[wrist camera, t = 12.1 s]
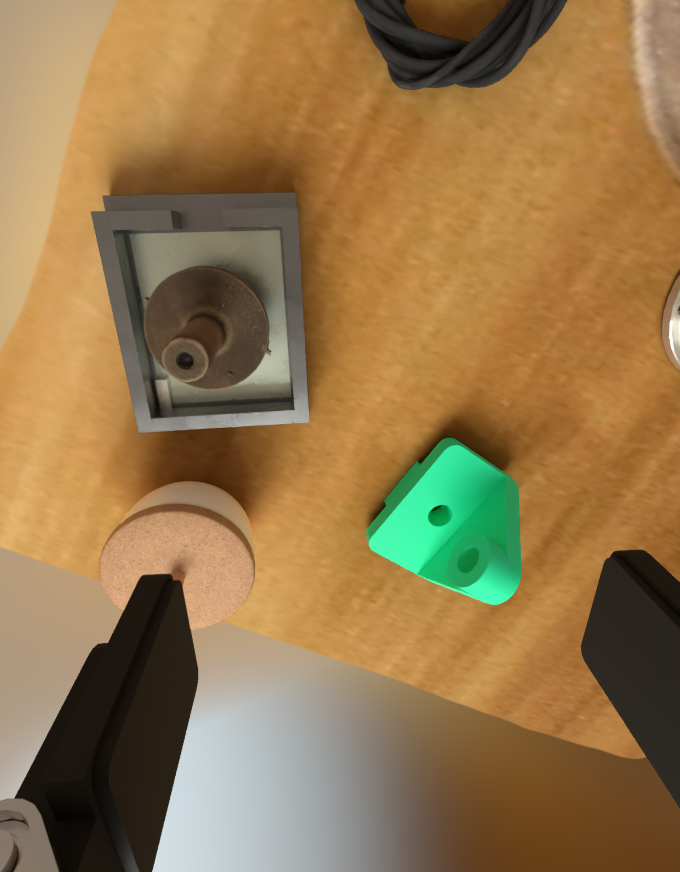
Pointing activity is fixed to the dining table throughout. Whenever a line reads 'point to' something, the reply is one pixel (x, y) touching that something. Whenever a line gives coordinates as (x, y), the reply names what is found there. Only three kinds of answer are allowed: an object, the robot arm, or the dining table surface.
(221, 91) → the dining table surface
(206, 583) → the lidded jar
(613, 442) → the dining table surface
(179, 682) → the robot arm
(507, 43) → the cable
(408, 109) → the dining table surface
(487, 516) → the camera mount
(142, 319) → the pocket plate
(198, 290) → the industrial component
